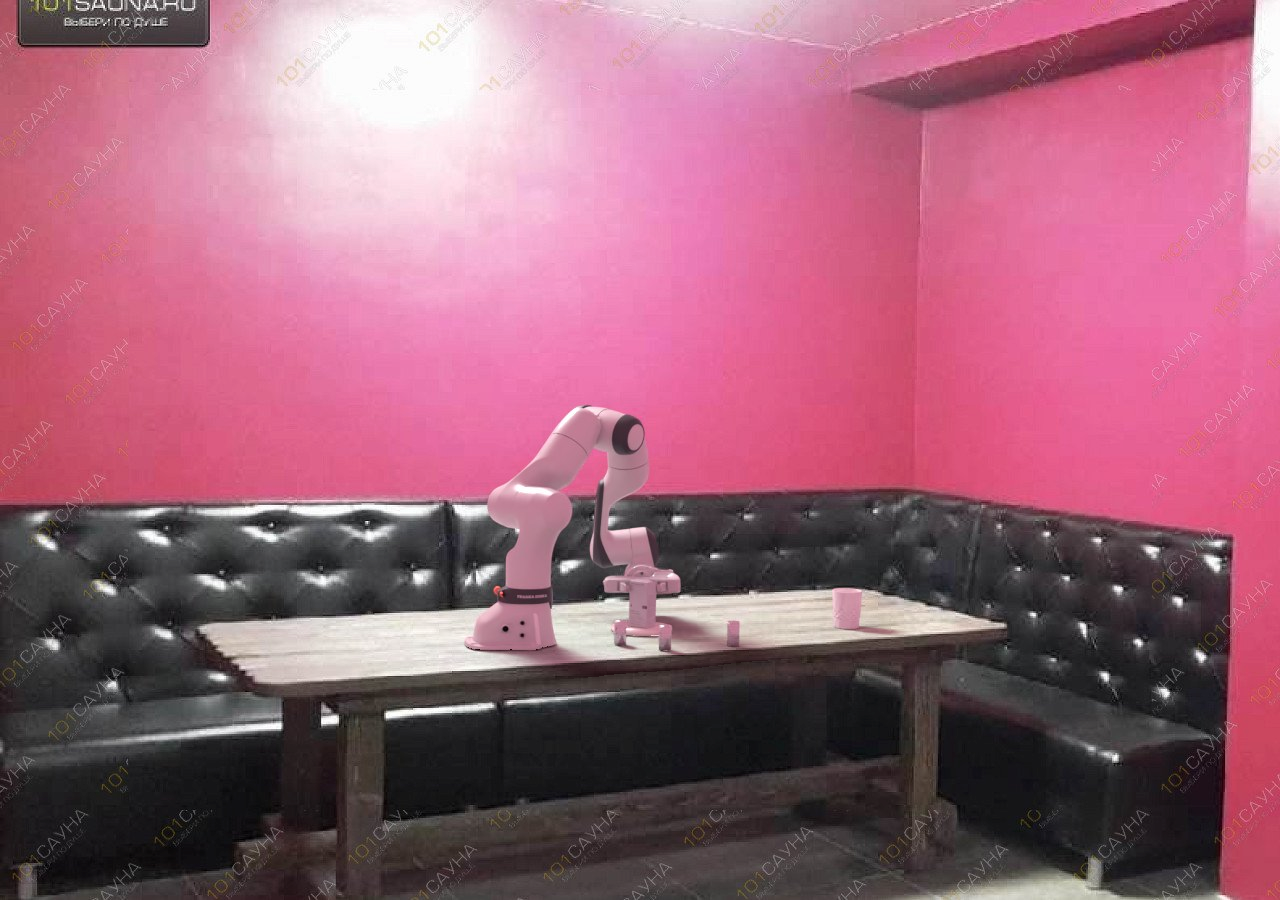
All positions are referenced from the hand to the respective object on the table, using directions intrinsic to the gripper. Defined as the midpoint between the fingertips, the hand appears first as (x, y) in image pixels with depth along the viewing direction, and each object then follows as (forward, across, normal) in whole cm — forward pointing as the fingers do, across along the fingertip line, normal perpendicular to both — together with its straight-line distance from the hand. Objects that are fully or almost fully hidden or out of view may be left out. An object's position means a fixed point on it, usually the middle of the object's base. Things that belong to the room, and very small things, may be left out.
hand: (643, 588), depth 356 cm
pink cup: (-9, +55, +12) cm, 57 cm away
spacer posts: (+19, +8, +11) cm, 24 cm away
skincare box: (-1, 0, +10) cm, 10 cm away
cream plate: (-1, 0, +11) cm, 11 cm away
